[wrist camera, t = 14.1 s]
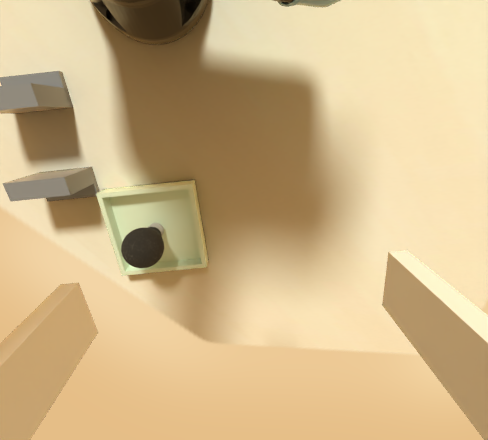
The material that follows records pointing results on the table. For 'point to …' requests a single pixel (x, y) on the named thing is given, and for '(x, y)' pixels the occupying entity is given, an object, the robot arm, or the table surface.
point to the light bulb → (143, 246)
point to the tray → (157, 211)
